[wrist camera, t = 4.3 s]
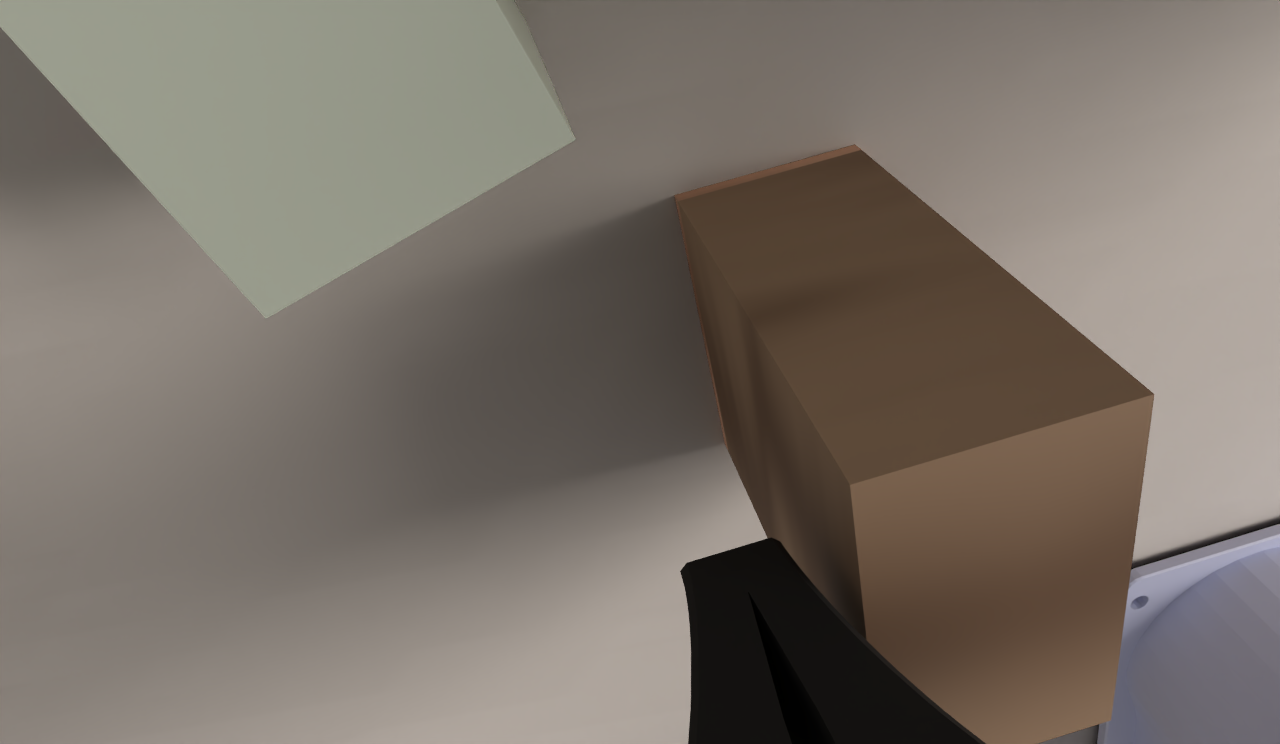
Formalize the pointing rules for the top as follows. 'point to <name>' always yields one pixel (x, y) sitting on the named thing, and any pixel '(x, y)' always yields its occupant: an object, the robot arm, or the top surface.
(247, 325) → the top surface
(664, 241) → the top surface
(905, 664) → the walnut block
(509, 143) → the sage block
